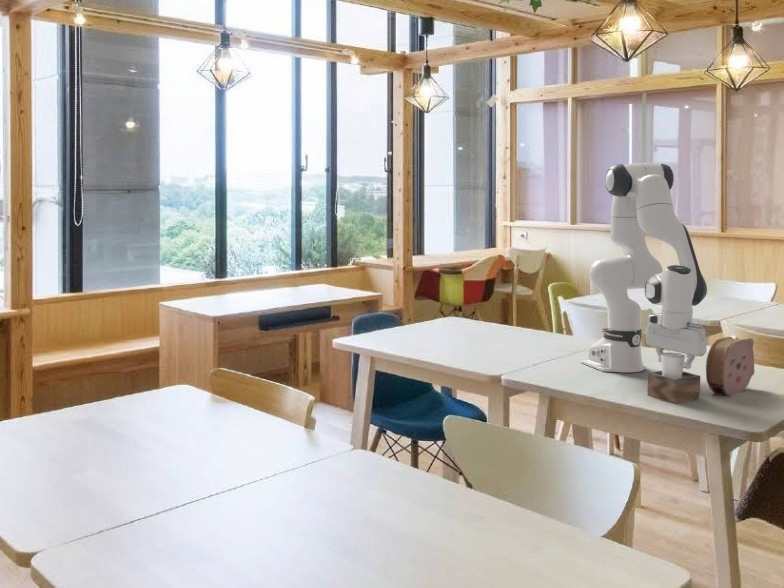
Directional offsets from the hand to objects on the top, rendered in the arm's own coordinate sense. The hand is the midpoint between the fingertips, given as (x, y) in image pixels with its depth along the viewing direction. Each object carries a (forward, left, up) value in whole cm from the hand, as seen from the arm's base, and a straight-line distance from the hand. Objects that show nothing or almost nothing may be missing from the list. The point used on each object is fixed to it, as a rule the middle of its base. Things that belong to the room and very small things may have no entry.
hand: (674, 365), depth 244 cm
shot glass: (-1, 0, -4) cm, 4 cm away
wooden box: (0, 0, -10) cm, 10 cm away
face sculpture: (+5, +20, -10) cm, 23 cm away
